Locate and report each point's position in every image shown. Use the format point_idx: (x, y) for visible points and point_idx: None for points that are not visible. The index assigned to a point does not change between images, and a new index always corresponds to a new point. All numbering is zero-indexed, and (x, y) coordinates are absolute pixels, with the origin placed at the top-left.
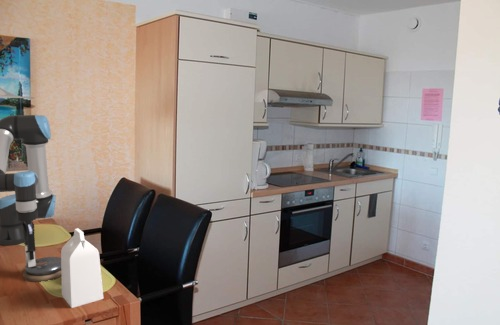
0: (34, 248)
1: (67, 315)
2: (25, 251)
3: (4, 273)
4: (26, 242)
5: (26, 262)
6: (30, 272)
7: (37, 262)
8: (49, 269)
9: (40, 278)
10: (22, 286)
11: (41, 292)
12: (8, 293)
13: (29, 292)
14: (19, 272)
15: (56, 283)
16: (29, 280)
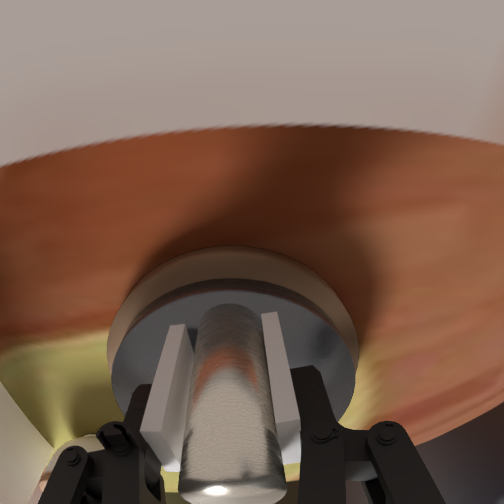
0: (81, 501)
1: None
2: (209, 412)
3: (355, 125)
4: (298, 498)
5: (212, 330)
6: (140, 318)
7: None
8: (124, 412)
9: (108, 346)
10: (81, 245)
11: (12, 324)
12: (20, 180)
13: (14, 279)
14: (326, 219)
15: (88, 385)
16: (135, 285)
